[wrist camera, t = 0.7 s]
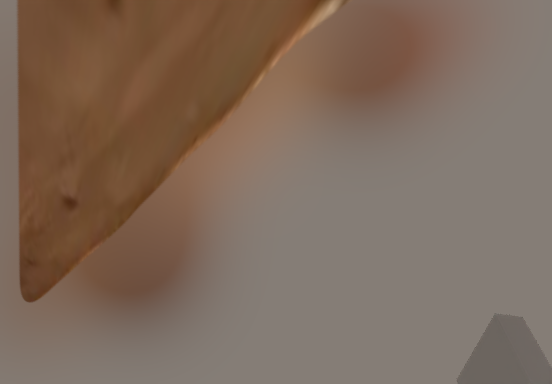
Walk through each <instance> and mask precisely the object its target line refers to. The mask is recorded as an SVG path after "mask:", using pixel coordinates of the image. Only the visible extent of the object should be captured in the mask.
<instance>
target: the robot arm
mask: <svg viewBox="0 0 552 384" xmlns="http://www.w3.org/2000/svg"><path fill="white" fill-rule="evenodd" d="M457 382H458V384H552V368H551V366H550V364H549V362H548V360H547V359H546V357H545V355H544V353H543V352H542V350H541V348H540V346H539V345H538V343H537V341H536V340H535V338H534V336H533V334H532V333H531V331H530V329H529V327H528V326H527V324H526V322H525V320H524V319H523V317H518V316H510V315H502V314H495V315H494V316H493V318H492V320H491V321H490V323H489V325H488V327H487V328H486V330H485V332H484V334H483V335H482V337H481V339H480V341H479V342H478V344H477V346H476V347H475V349H474V351H473V352H472V354H471V356H470V358H469V359H468V361H467V363H466V365H465V366H464V368H463V370H462V371H461V373H460V375H459V377H458V378H457Z"/></svg>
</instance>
